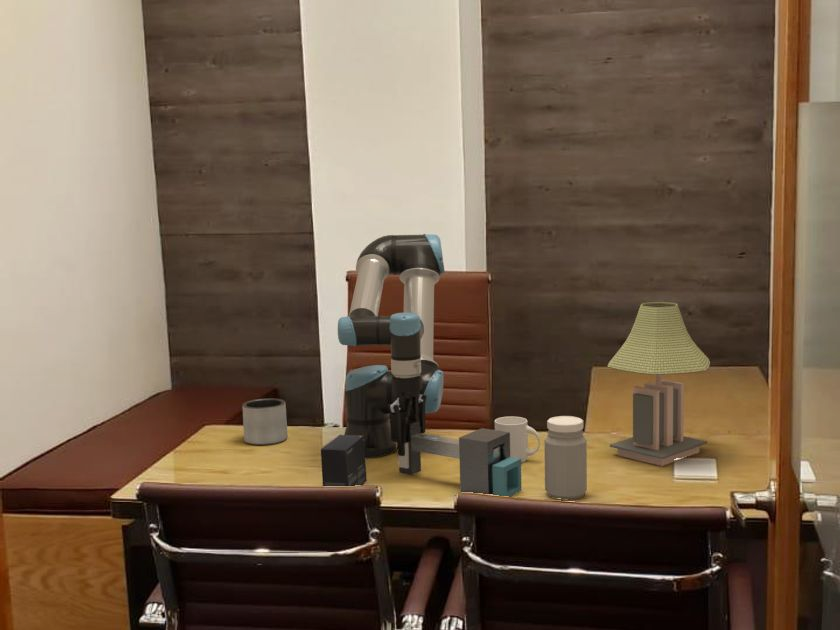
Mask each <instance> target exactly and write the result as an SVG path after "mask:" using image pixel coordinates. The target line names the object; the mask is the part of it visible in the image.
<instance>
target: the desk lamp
mask: <svg viewBox="0 0 840 630" xmlns="http://www.w3.org/2000/svg"><path fill="white" fill-rule="evenodd" d="M679 307H680V306H679V305H678V303H676V302H668V301H667V302H666V301H665V302H664V301H652V302H650V301H649V302H642V303H641V304H640V306H639V308H638V312H637V315H636V317H635V320H634V323H633V325H632V327H631V331H630V333H629V334H628V336H627V338H626V340H625V342H624V343H623V344H622V346H621V347H620V348H619V349H618V351H616V353H615V355H613V357H612V358H611V360H609V362H608V364H607V367H608V369H613V370H618V371H622V372H628V373H629V372H630V373H634V374H635V373H636V374H641V375H651V376H653V375H655V382H650V381H649V382H646V383H644V385H643V386H644V387H643V386H639V385H635V386H633V388H632V389H633V391H632V392H633V394H632V437H629V438H626V439H623V440H620V441H616V442H614V443H611V444H609V448H613V449H616V452H617V453H616V455H617V456H619V457H623V458H628V459H632V460H635V461H640V462H643V463H648V464H653V465H657V466H660V467H663V466H666V465H668V464H671V463H674V462H675V461H674V459H676V458H682V457H685V456H688V457H690V456H689V455H691V454H693V455H695V454H694V453H696V454H698V453H697V452H699V453H700V447H701V446H703V445H706V444H708V441H707V440H702V439H698V438H693V437H690V436H684V426H685V425H684V422H685V421H684V420H685V418H684V416H685V414H684V413H685V408H684V407H685V406H684V405H685V383H684V382H679V381H672V380H667V379H663V375H680V374H691V373H699V372H705V371H706V370H707V369H708V368H709V367H710V364H711V362H710V359H709V357H707V355H706V354H705V353H704V352H703V351H702V350H701V348H700V347H698V346H697V344H696V343H695V341H693V339H692V337H691V336H690V334H689V332H688V330H687V327H686V325H685V323H684V319H683V316H682V314H681V311H680V308H679ZM691 456H692V455H691ZM685 458H686V457H685ZM682 459H683V458H682ZM673 461H674V462H673Z"/></svg>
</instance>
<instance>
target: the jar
mask: <svg viewBox="0 0 840 630" xmlns="http://www.w3.org/2000/svg"><path fill="white" fill-rule="evenodd" d="M546 426H547V427H546V429H548V431H547V432H546V433H547V436H546V438H545V439H544V441H543V443H544V490H545V491H546V493H547V494H548V495H549V497H551V498H553V499H556V498H561V499H560V500H562V499H572V500H577V499H580V498H582V497H583V496H584V495H585V494H586V492H587V491H588V490H587V489H588V485H587V484H588V481H587V480H588V477H587V476H588V475H587V474H588V470H587V469H588V468H587V467H588V466H587V465H588V463H587V461H588V460H587V459H588V456H587V455H588V454H587V453H588V452H587V451H588V450H587V439H586V437H585V436H584V431H583V429H584V420H583V419H582V418H580V417H577V416H572V415H559V416H553V417H550V418H549V419H548V420H546Z"/></svg>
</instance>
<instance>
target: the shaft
mask: <svg viewBox="0 0 840 630" xmlns="http://www.w3.org/2000/svg"><path fill="white" fill-rule="evenodd" d="M420 428H421V427H420V421H418V420H411V419H408V424H407V437H406V442H407V443H408V449H409V468H408V469H407V468H402V467H399V466H398V473H399V474H405V475H409V476H413V475H415V474H417V473H420V472H422V459H421V457H422V456H421V454H422V453H424V454H430V455H435V456H442V457H447V458H453V459H457V460H460V458H459V438H452V437H445V436H439V435H434V434H433V435H432V434H427V433H420ZM493 458H494V464H495V463H497V462H499V461H500V446H497V447H494V448H493Z"/></svg>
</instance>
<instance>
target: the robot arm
mask: <svg viewBox="0 0 840 630" xmlns="http://www.w3.org/2000/svg"><path fill="white" fill-rule="evenodd" d="M444 264H445V263H444V257H443V250H442V241H441V238H440V237H439V236H438V235H437V234H426V233H422V234H398V235H397V234H395V235H394V234H389V235H388V234H387V235H383V236H381V237H379V238H377V239H374V240H373V241H372V242H370V243H369V244H368V245H366V247H364V249H363V250H362V251H361V252H360V254H359V256H358V258H357V260H356V264H355V273H356V275H357V276H356V282H355V284H354V285H355V287H354V291H353V295H352V300H351V305H350V310H349V314H348V315H346V316H341V317H340V318H339V319H338V321H337V338H338V341H339V344H341V345H342V346H353V347H356V346H390V355H391V356H390V366H391V367H390V371H389V368H388V366H387V365H384V364H383V365H382V364H372V365H367V366H362V367H359V368H355V369H353V370H350V371H349V372H348V373H347V374H346V376H345V387H344V391H345V404H346V405H345V407H346V427H345V430H344V431H345V432H344V434H343V435H360V436H364V443H365V459H367V458H380V457H384V456H388V455H391V454H394V453H395V452H396V451H397V457H398V458H397V460H398V468H399V467H402V468H407V469H408V468H409V449H408V443H407V442H406V437H407V424H408V419H411V420H418V421H420V433H422V434H426V414H432V413H433V414H434V413H436V412H437V411H439V410H440V408H441V403H442V397H443V391H444V381H445V380H444V378H445V377H444V375H445V374H444V371H443V370H441V369H439V364H438V362H436V361H435V360H434V333H435V332H434V321H435V319H434V318H435V313H434V312H435V310H434V309H435V285H436V284H437V283H438V282H439V281H440V280H441V279H440V275H441V276H442V275H444V274H445V265H444ZM388 276H399V278H398V279H399V280H400V282H401V283H402V284H404V285H403V288H404V289H403V312H397V313H394V314H391V315H379V310H380V305H381V299H382V293H383V289H384V288H383V287H384V282H385V280H386V279H387V278H388Z"/></svg>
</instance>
